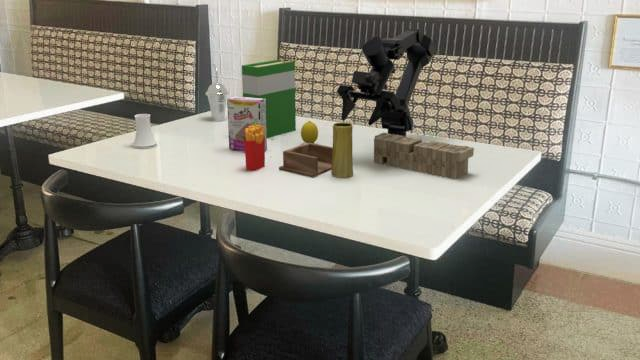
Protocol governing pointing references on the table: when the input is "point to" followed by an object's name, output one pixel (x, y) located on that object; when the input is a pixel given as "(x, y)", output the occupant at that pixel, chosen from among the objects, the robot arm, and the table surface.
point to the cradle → (308, 160)
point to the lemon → (309, 132)
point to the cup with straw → (217, 99)
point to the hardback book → (273, 93)
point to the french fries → (254, 147)
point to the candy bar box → (244, 119)
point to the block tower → (422, 155)
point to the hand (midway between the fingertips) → (355, 122)
